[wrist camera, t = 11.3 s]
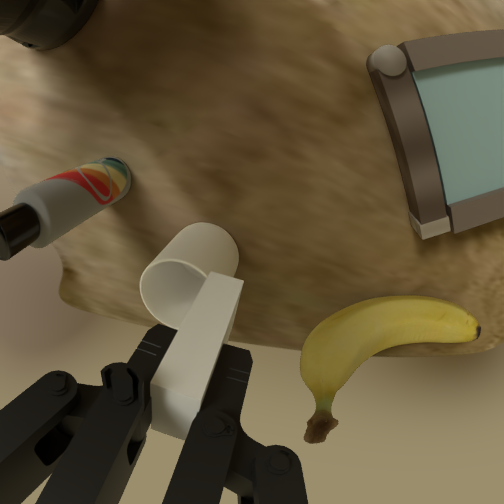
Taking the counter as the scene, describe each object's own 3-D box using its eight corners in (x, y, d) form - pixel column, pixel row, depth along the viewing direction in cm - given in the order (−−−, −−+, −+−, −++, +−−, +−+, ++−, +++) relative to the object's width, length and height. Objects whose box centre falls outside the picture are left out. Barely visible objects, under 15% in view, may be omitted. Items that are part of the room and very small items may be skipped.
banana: (469, 285, 35) (536, 395, 17) (458, 320, 38) (509, 433, 20) (303, 285, 39) (294, 423, 21) (302, 323, 42) (292, 457, 24)
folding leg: (360, 56, 27) (368, 48, 23) (389, 49, 26) (401, 41, 22) (411, 225, 33) (423, 240, 29) (437, 217, 32) (451, 232, 28)
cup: (234, 217, 37) (210, 256, 28) (248, 305, 42) (232, 359, 33) (168, 223, 38) (129, 260, 29) (189, 306, 43) (162, 355, 34)
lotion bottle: (127, 152, 35) (-1, 204, 17) (136, 197, 38) (22, 275, 20) (91, 159, 36) (-32, 213, 18) (100, 201, 39) (-12, 274, 21)
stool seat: (393, 48, 26) (403, 41, 22) (503, 33, 21) (520, 28, 17) (441, 220, 33) (454, 233, 29) (537, 188, 28) (555, 198, 24)
